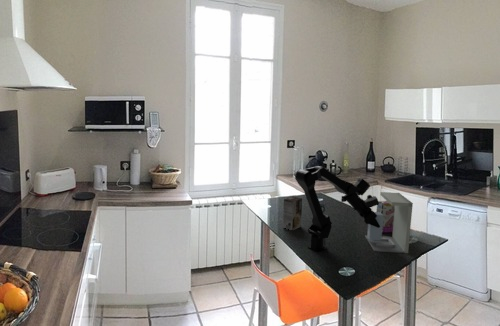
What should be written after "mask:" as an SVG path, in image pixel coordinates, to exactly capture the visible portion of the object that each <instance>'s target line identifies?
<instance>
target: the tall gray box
mask: <svg viewBox="0 0 500 326" xmlns="http://www.w3.org/2000/svg"><path fill="white" fill-rule="evenodd" d="M374 213H375V214H376V215H377V217H376V220H377V222H378V224H379V225H380V227H379V228H377V227H375V226H373V225H370V224H367V234H366V235H367V237H368V239H369V240H378V241H381V238H382V235H383V233H382V226H383V214H382V213H381V212H376V211H374Z"/></svg>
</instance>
